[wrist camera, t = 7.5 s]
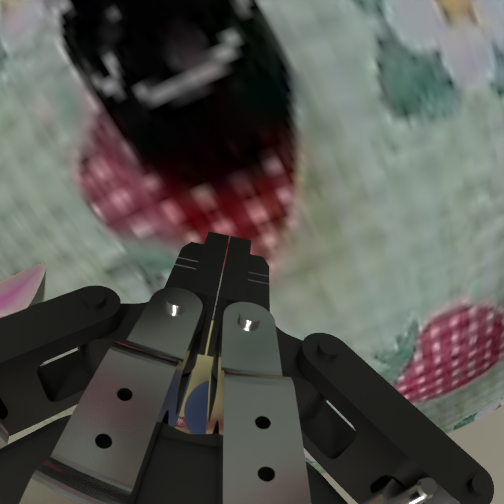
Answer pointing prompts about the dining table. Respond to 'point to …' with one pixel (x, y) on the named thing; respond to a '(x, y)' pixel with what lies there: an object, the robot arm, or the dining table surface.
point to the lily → (20, 289)
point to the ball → (197, 409)
